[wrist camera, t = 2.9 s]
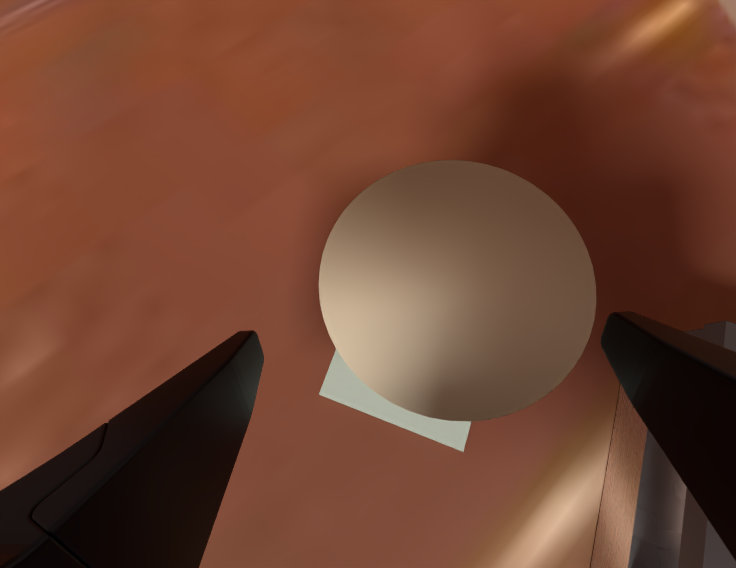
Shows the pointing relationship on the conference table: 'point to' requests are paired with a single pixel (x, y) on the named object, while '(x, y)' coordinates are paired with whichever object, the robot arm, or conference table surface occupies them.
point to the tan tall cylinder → (457, 290)
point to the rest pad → (388, 406)
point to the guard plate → (698, 539)
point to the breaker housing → (638, 499)
